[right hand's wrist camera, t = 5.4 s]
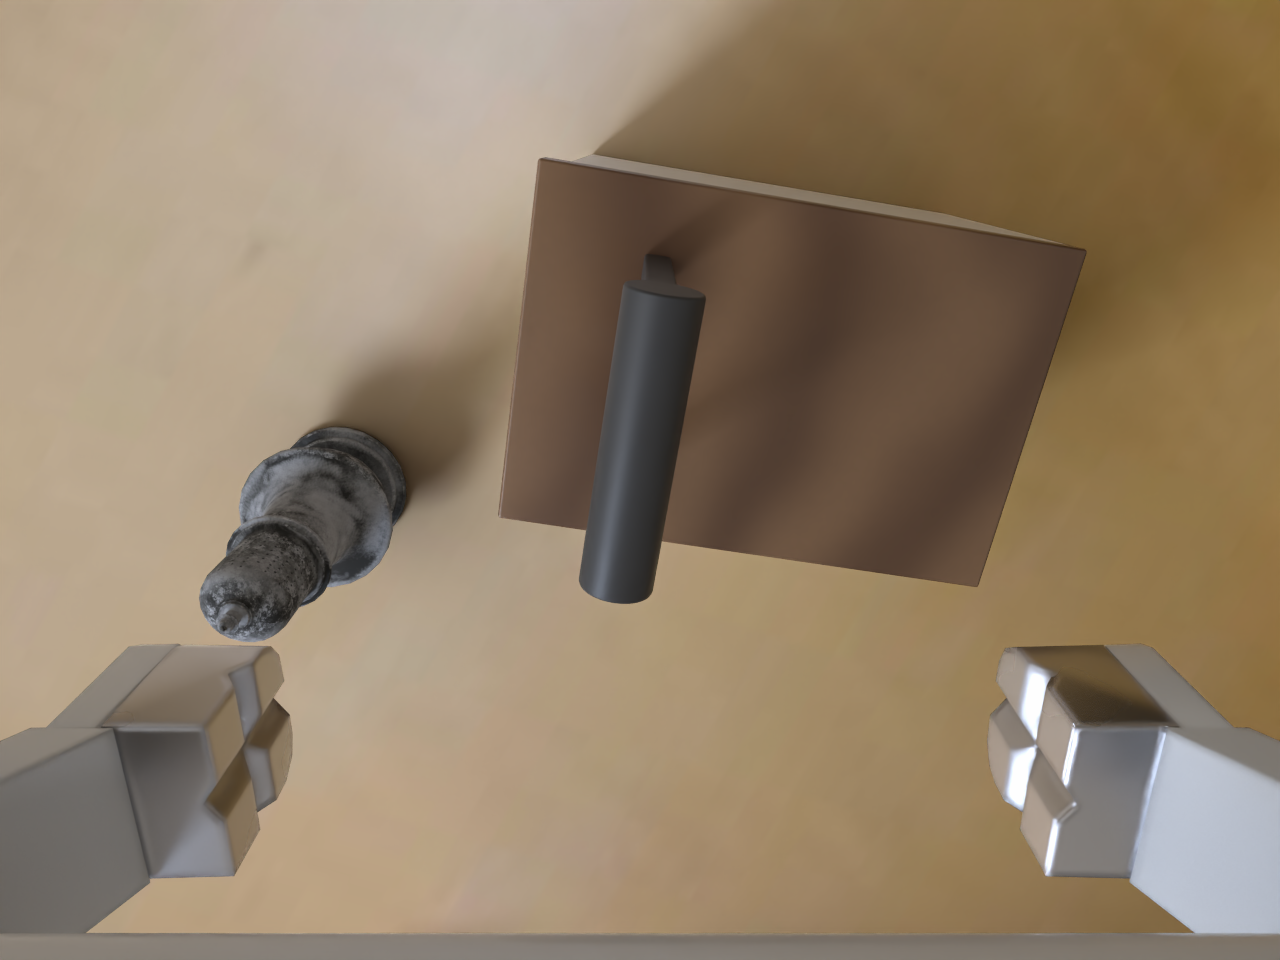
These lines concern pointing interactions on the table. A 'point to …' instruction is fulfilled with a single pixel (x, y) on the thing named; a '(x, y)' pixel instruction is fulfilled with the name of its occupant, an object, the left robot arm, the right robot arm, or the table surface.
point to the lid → (771, 377)
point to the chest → (794, 193)
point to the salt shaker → (304, 530)
